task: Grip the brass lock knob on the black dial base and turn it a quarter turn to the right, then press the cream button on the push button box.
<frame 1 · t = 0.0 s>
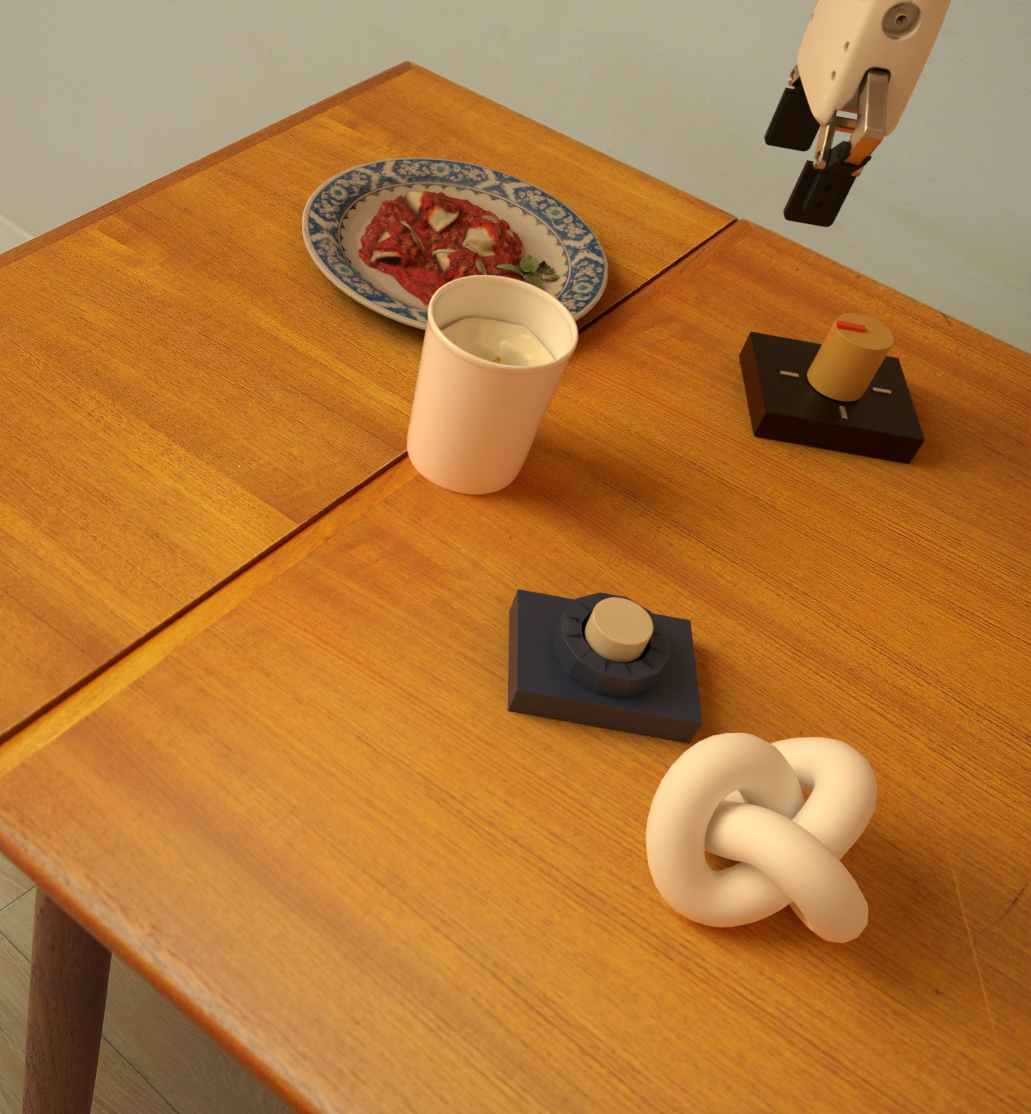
hand: (795, 182, 85), 18 cm above the table, tool pointing down, fingers open, 9 cm apart
white knot sculpture: (720, 875, 69), on the table
black dial base: (821, 408, 99), on the table
candle holder: (462, 457, 90), on the table
ceramic plate: (449, 263, 107), on the table
bell button: (618, 629, 74), point 4 cm above the table, slide at 0.1 cm
push button box: (596, 675, 78), on the table
lock knob: (850, 355, 95), point 5 cm above the table, hinge at 0.0°
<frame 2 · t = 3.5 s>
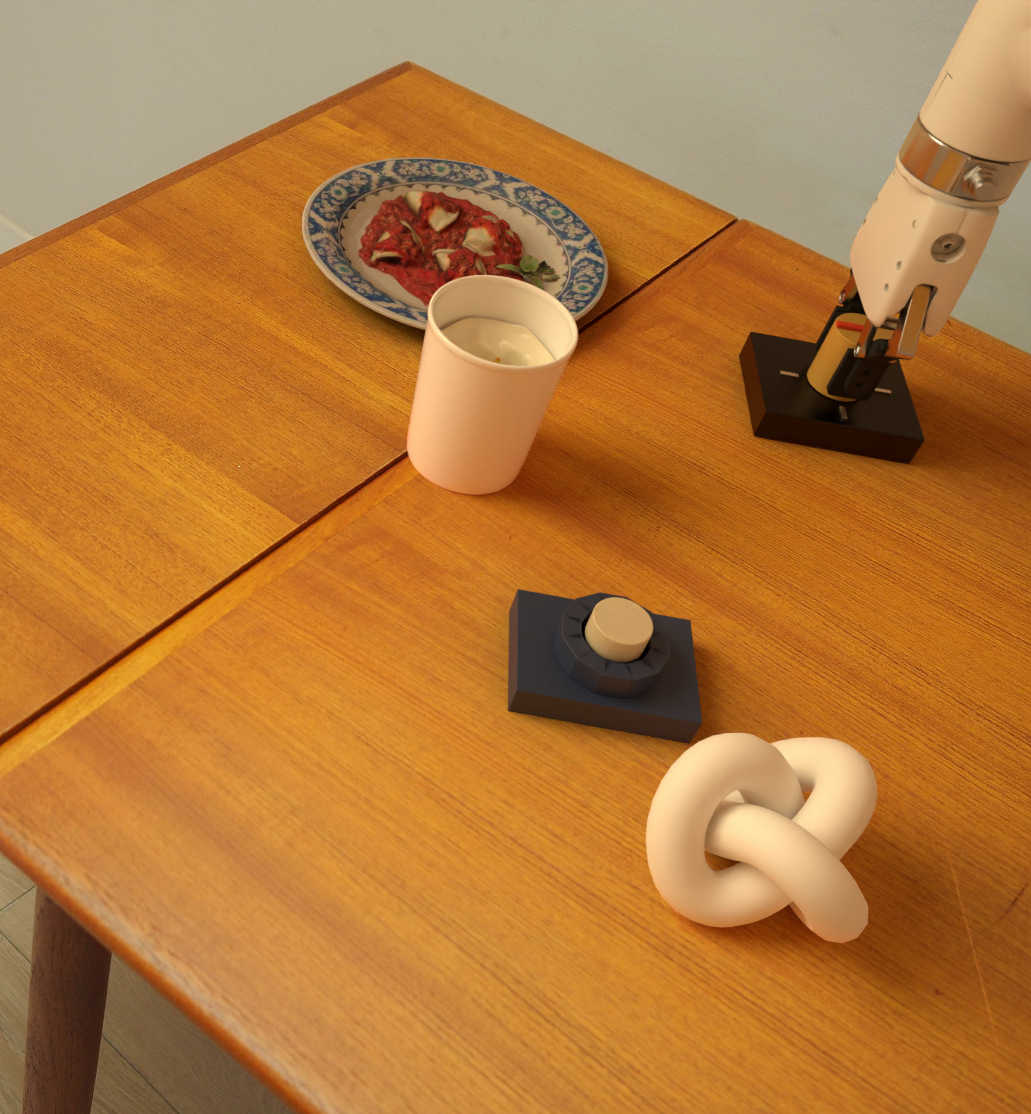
hand: (841, 371, 96), 4 cm above the table, tool pointing down, fingers closed on lock knob, 4 cm apart
lock knob: (850, 355, 95), point 5 cm above the table, hinge at -0.2°, touching gripper
everything else where it was.
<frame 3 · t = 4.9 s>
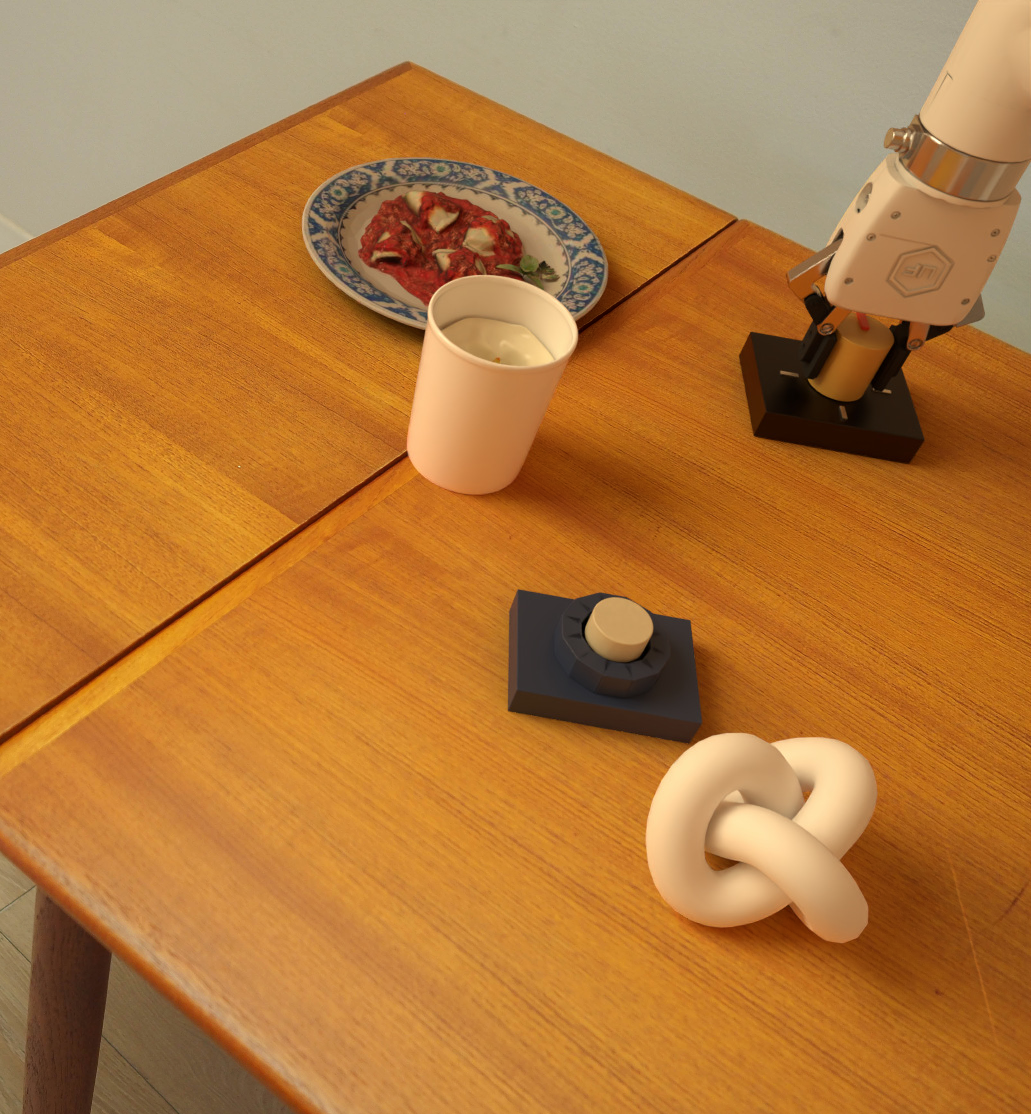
hand: (841, 371, 96), 4 cm above the table, tool pointing down, fingers closed on lock knob, 4 cm apart
lock knob: (850, 355, 95), point 5 cm above the table, hinge at -89.5°, touching gripper
everything else where it was.
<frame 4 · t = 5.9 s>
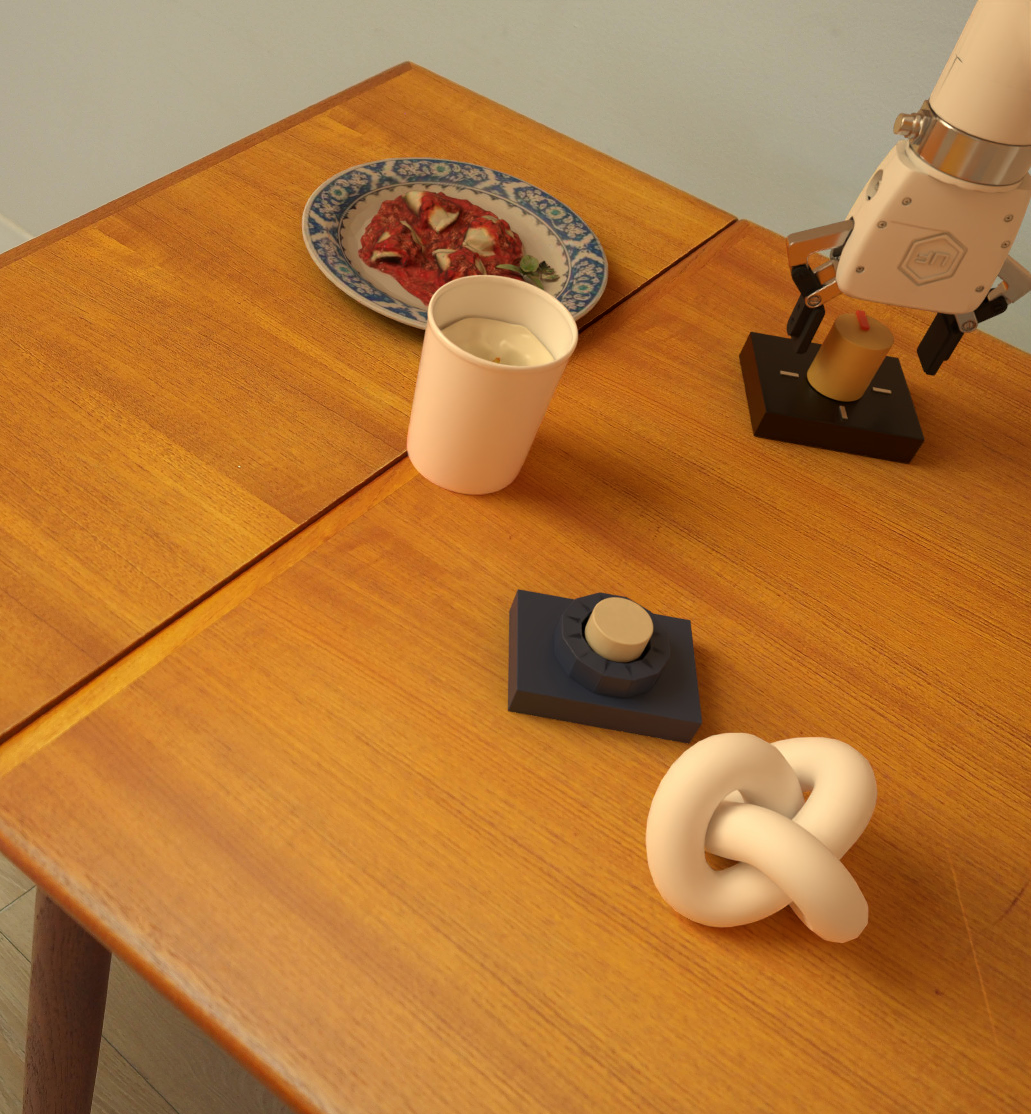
hand: (860, 353, 94), 6 cm above the table, tool pointing down, fingers open, 9 cm apart
lock knob: (850, 355, 95), point 5 cm above the table, hinge at -89.1°
everything else where it was.
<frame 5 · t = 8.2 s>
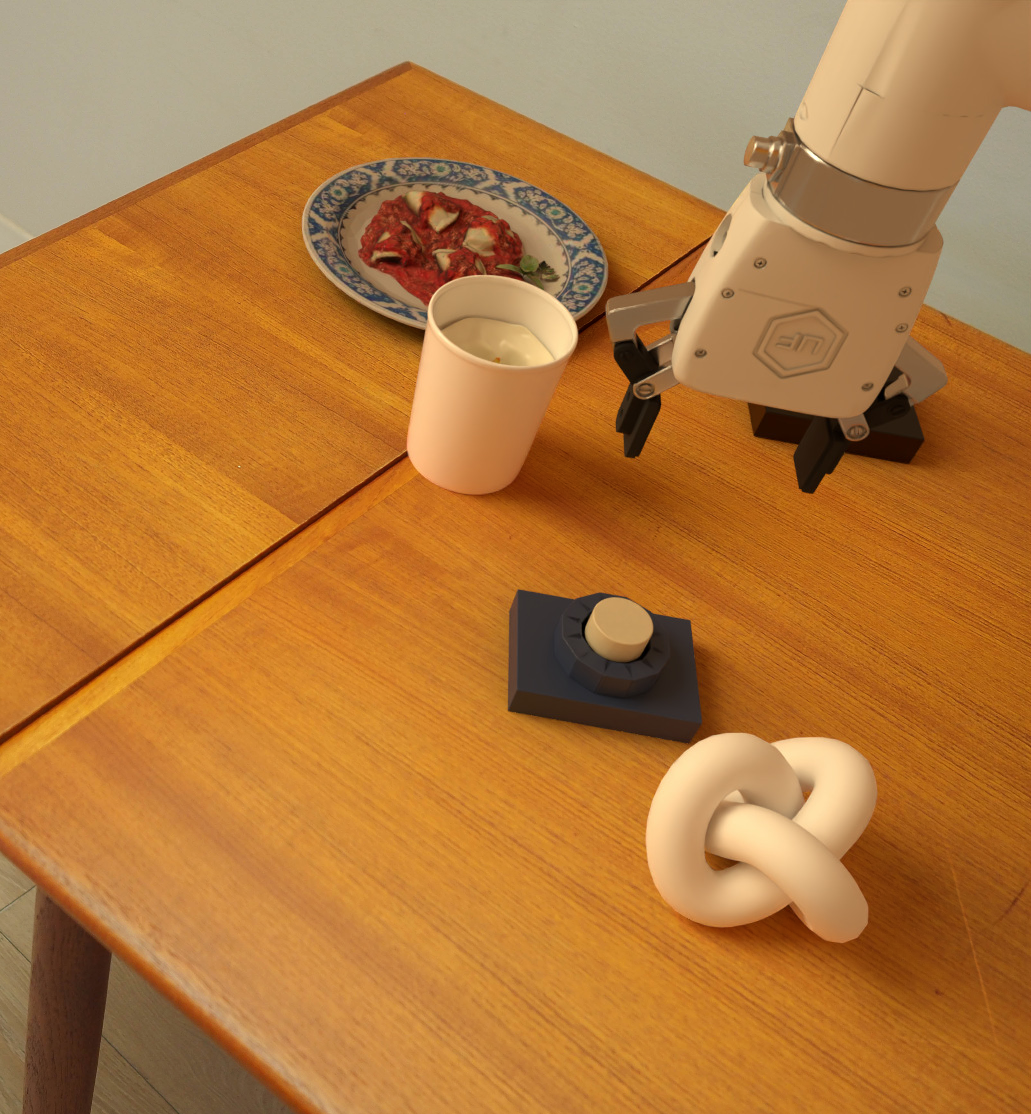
hand: (715, 458, 69), 15 cm above the table, tool pointing down, fingers open, 9 cm apart
nothing on the table moved.
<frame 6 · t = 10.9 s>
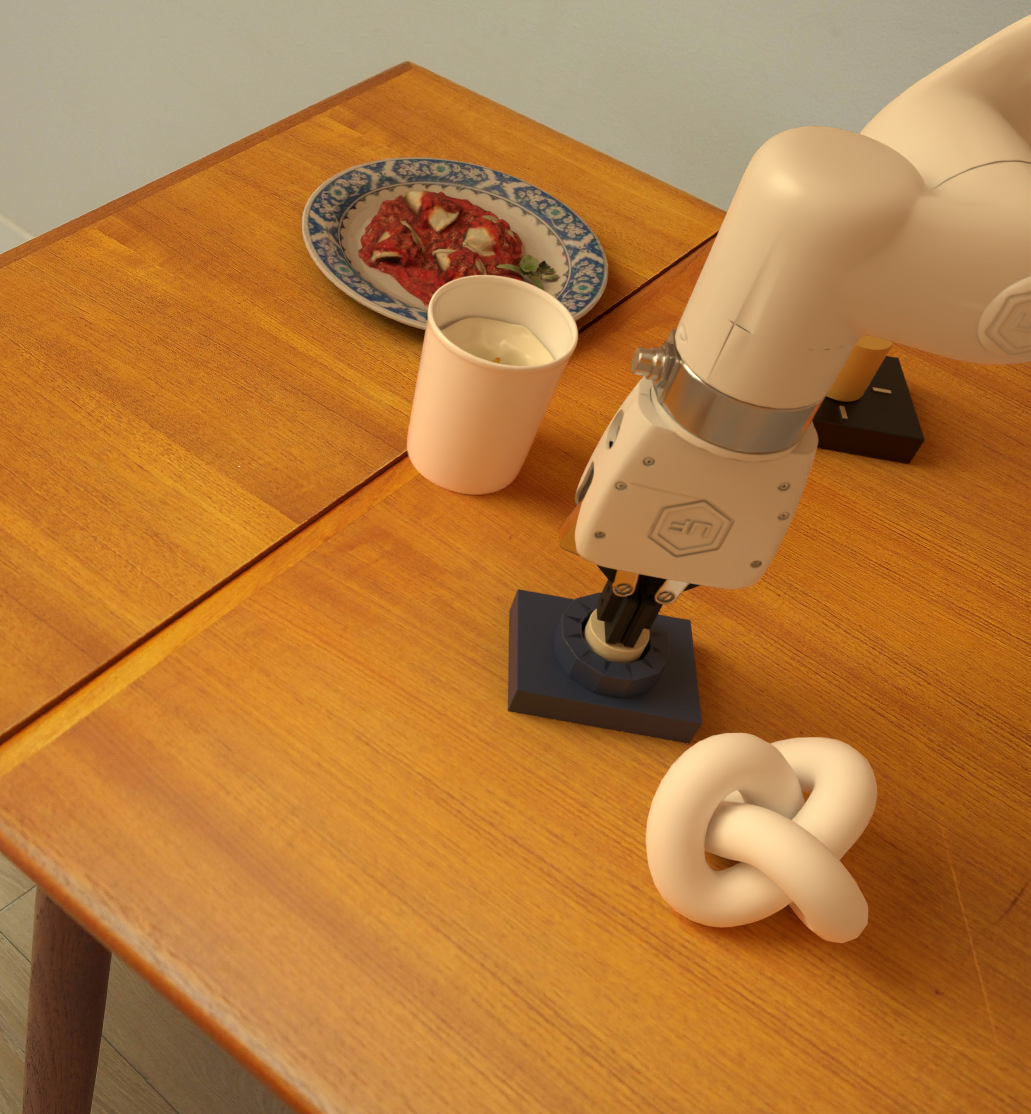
hand: (617, 626, 74), 5 cm above the table, tool pointing down, fingers closed
bell button: (615, 636, 75), point 4 cm above the table, slide at -0.5 cm, touching gripper
everything else where it was.
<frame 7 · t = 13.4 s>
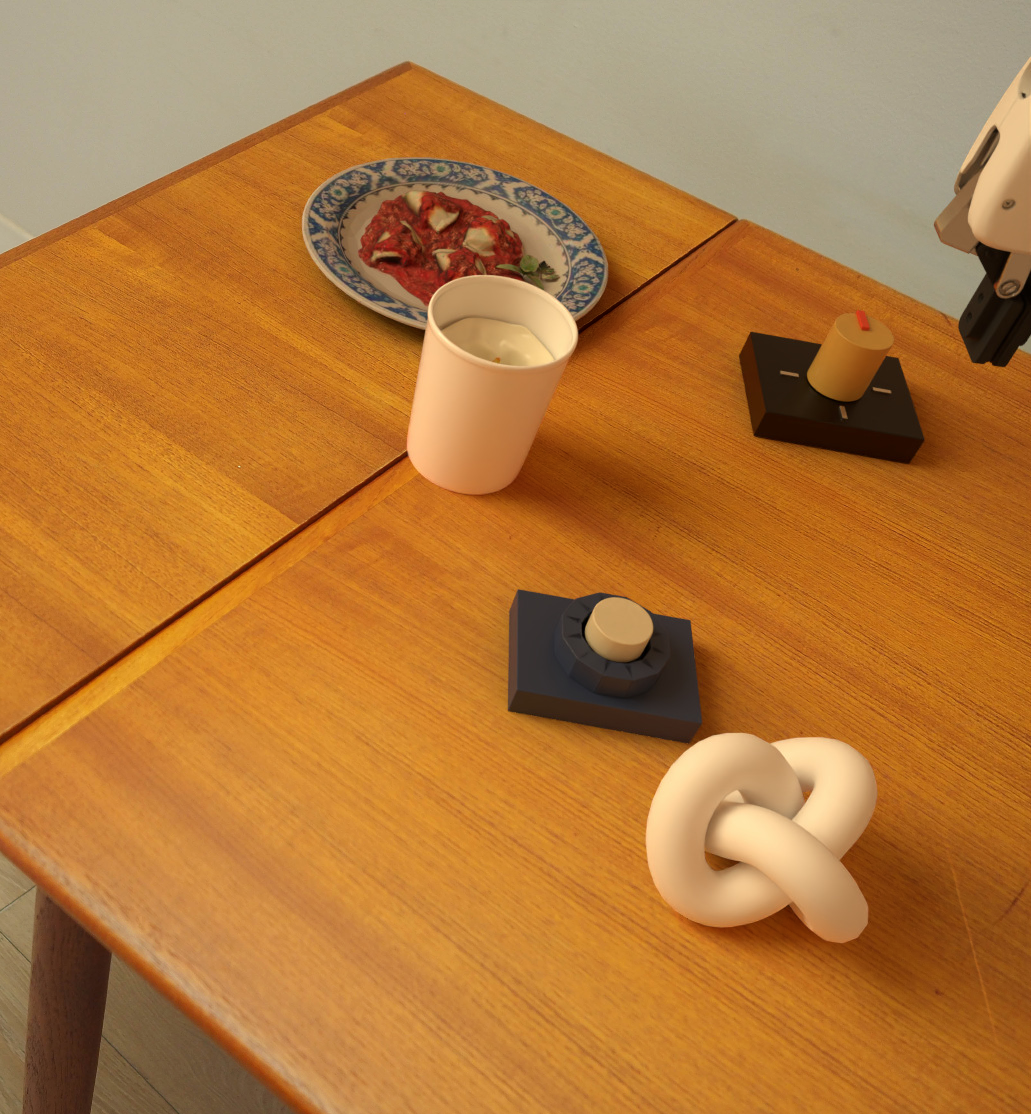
hand: (981, 348, 66), 23 cm above the table, tool pointing down, fingers closed
bell button: (618, 629, 74), point 4 cm above the table, slide at 0.1 cm
everything else where it was.
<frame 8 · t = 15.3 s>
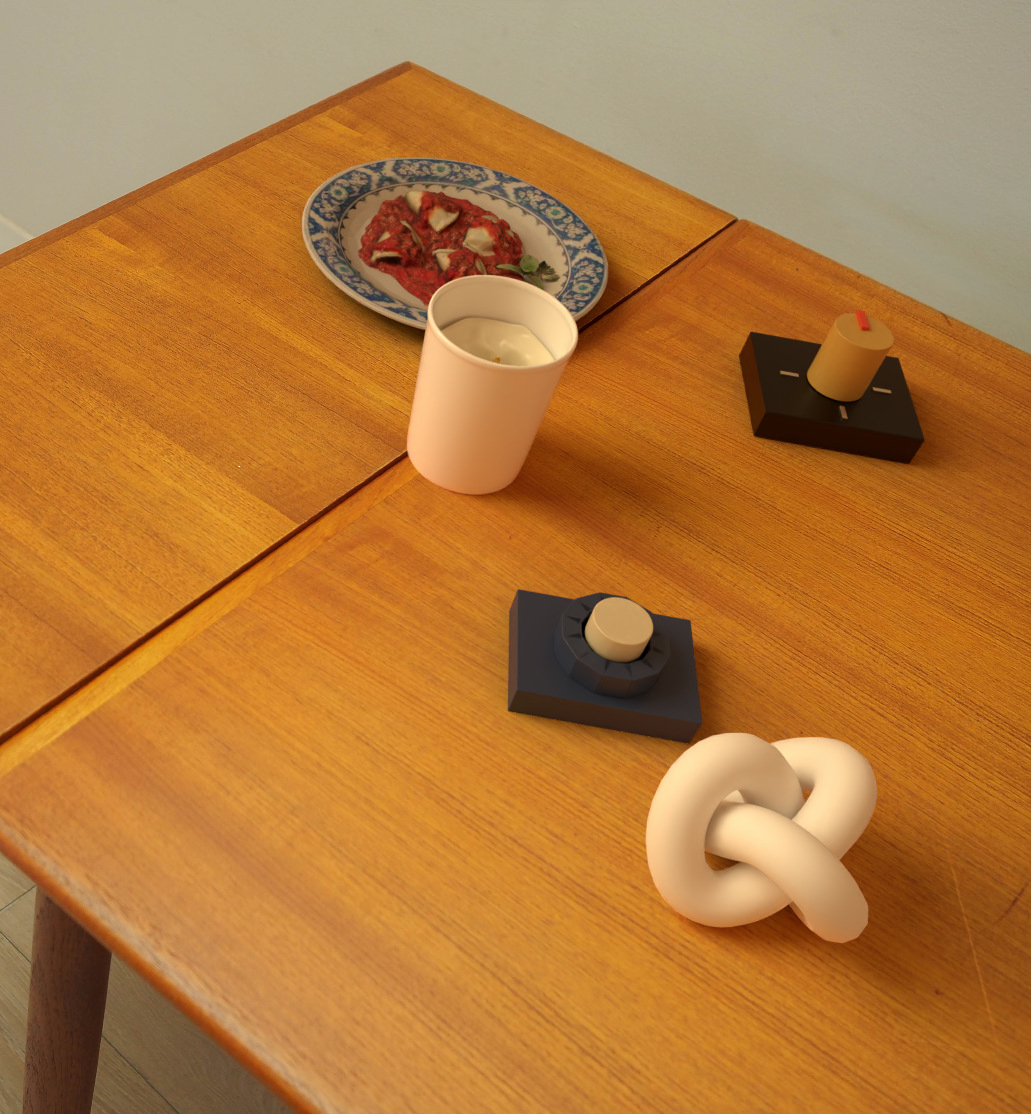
nothing on the table moved.
at the end: lock knob at -89° (first picture: +0°); bell button pushed in 1.1 cm at the most during the clip, back to where it started at the end; bell button slide at 0.1 cm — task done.
